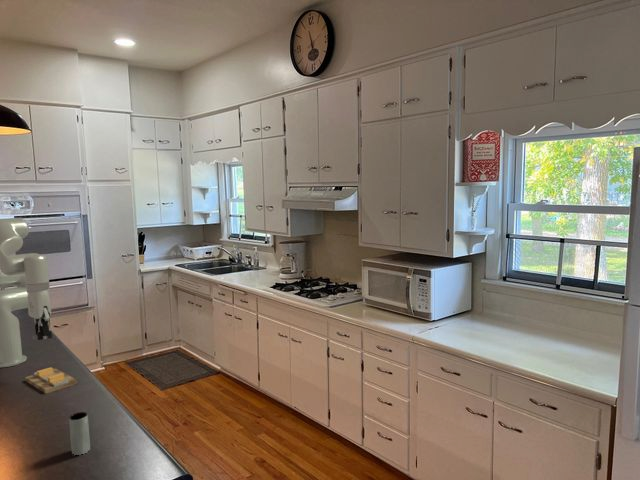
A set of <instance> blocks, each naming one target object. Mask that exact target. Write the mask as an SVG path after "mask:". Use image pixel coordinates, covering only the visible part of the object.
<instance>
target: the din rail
mask: <svg viewBox="0 0 640 480" xmlns="http://www.w3.org/2000/svg"><path fill="white" fill-rule="evenodd" d="M33 375H35V376H37V377H38V378H40V379H42V380H43V381H45V382H47V383H49V384H50V385H52V386H54V387H56V386H59V385H62V384H65V383H68V382H69V380H67V379H65V378H63V379H60V380H57V381H53V382H48V377H50V376H53V375H57V374H56V373H54V372H52V373H48V374H45V375H42V376H38V375H37V371H36V372H33Z"/></svg>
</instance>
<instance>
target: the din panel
mask: <svg viewBox="0 0 640 480" xmlns="http://www.w3.org/2000/svg"><path fill="white" fill-rule="evenodd" d="M53 372H54V373H56V374H60V373H63V374H64V378H65V379H67V380H69V382H68V383H65V384H62V385H59V386H56V387H54V386H52V385H50V384H49V383H47V382H45V381H43V380H42V379H40V378H38V377H37V376H35V375H34V374H32V375H28V376H25V379H24V380H25V382H26V383H28V384H30V385H32V386H33V387H35V388H36V389H37V390H38V391H41V392H43V393H44V394H49V393H53V392H56V391H59V390H62V389H65V388H68V387H71V386H74V385H77V384H78V379H76V378H75V377H73V376H70V375H69V374H67V373H65V372H63V371H62V370H59V369H58V368H53Z"/></svg>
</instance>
